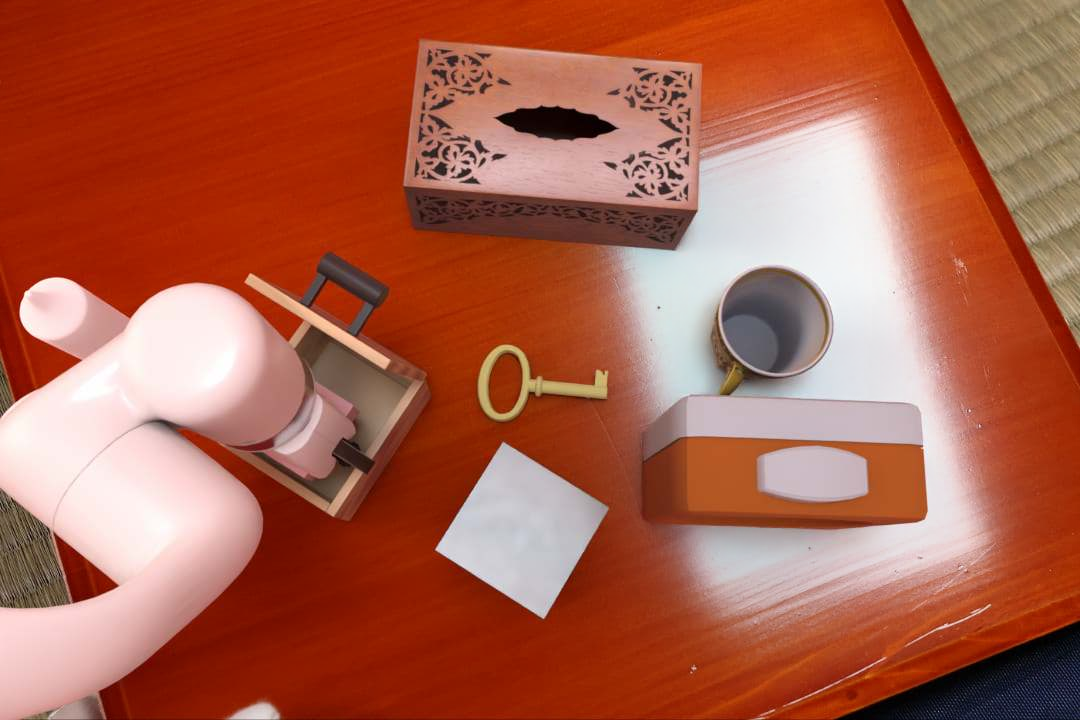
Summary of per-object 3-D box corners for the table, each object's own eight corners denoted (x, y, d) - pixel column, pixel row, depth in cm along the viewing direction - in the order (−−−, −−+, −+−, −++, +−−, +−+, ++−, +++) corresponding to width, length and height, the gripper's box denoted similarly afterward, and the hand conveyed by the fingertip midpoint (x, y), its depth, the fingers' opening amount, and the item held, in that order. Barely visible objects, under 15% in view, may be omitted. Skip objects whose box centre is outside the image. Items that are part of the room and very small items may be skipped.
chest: (349, 521, 78) (333, 517, 70) (243, 453, 79) (216, 442, 71) (432, 395, 81) (425, 378, 73) (329, 331, 82) (312, 308, 74)
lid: (384, 370, 59) (423, 307, 59) (243, 282, 59) (282, 221, 60) (422, 381, 73) (453, 331, 73) (308, 311, 74) (339, 261, 74)
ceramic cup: (728, 279, 85) (758, 242, 75) (813, 337, 84) (855, 307, 74) (655, 383, 82) (676, 360, 72) (743, 444, 81) (776, 429, 72)
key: (612, 400, 82) (615, 396, 80) (484, 426, 80) (483, 423, 78) (595, 328, 83) (597, 322, 81) (469, 353, 82) (468, 348, 80)
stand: (529, 601, 77) (544, 620, 53) (453, 553, 78) (434, 550, 53) (575, 523, 79) (610, 507, 55) (500, 477, 80) (502, 440, 55)
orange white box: (640, 523, 79) (688, 511, 59) (640, 428, 81) (687, 386, 61) (838, 530, 80) (953, 520, 60) (834, 436, 82) (943, 396, 62)
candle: (130, 341, 81) (-28, 246, 56) (207, 334, 81) (83, 237, 57) (130, 416, 79) (-32, 351, 55) (209, 408, 80) (83, 341, 55)
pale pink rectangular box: (312, 481, 72) (304, 478, 69) (265, 451, 73) (254, 446, 70) (359, 411, 74) (353, 405, 71) (313, 382, 74) (305, 374, 71)
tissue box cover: (413, 229, 85) (403, 185, 75) (428, 96, 88) (419, 38, 78) (675, 250, 85) (697, 210, 76) (679, 118, 89) (701, 63, 79)
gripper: (107, 370, 55) (202, 416, 73) (329, 512, 54) (370, 524, 72) (179, 276, 57) (255, 343, 75) (396, 411, 55) (421, 447, 73)
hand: (311, 431), depth 73 cm, fingers closed on pale pink rectangular box, 4 cm apart
